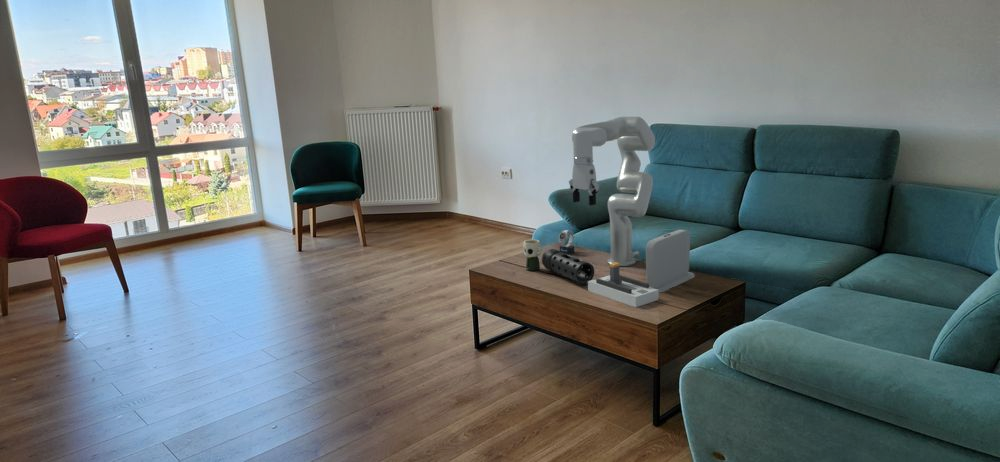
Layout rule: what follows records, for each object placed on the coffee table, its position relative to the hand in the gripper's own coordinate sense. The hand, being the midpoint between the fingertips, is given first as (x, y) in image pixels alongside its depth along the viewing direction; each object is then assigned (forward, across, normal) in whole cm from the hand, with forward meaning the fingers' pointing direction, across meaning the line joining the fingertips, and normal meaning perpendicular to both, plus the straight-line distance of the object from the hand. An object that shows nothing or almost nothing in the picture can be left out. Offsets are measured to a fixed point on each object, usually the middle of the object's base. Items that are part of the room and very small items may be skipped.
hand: (584, 203), depth 267 cm
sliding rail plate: (+29, -22, +1) cm, 37 cm away
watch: (+34, +41, -24) cm, 58 cm away
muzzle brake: (+34, +10, +2) cm, 35 cm away
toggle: (+29, -18, +1) cm, 34 cm away
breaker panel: (+33, -22, +1) cm, 40 cm away
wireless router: (+34, -23, -24) cm, 47 cm away
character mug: (+34, +30, +5) cm, 45 cm away
